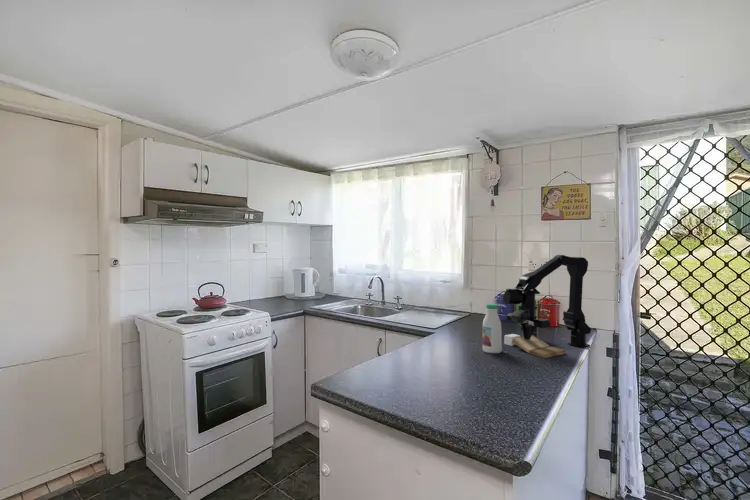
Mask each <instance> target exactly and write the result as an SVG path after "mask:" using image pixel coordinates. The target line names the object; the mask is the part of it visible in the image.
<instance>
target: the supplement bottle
mask: <svg viewBox="0 0 750 500" xmlns="http://www.w3.org/2000/svg"><path fill="white" fill-rule="evenodd" d="M530 321H531V320H530ZM521 333H522V334H521V337H524V335H523V332H522V331H521ZM532 335H533V336H535V337H536V338H538V339H539V336H538V335H539V327H537V328H536V329H535V331H534V332H533V334H532Z"/></svg>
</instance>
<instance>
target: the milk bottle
mask: <svg viewBox="0 0 750 500" xmlns="http://www.w3.org/2000/svg"><path fill="white" fill-rule="evenodd" d="M485 307H486V308H485V310H486V313H485V315H484V318H483V321H482V351H483V352H485V353H488V354H500V353H502V351H503V350H502V347H503V345H502V342H503V341H502V340H503V338H502V337H503V336H502V335H503V334H502V321H501V319H500V316H499V314H498V308H499V307H498V304H497V303H486V305H485Z"/></svg>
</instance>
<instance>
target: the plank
mask: <svg viewBox="0 0 750 500" xmlns="http://www.w3.org/2000/svg"><path fill="white" fill-rule="evenodd" d="M512 342H513V343H514V344H516V345H515V346H517V347H519V348H520V349H521V350H523V351H524V352H527V353H528V354H530V352H532V350H537V349H542V348H547V347H551V346H550V345H549V344H548V343H546V342H544V341H542V340H541V339H540V338H539V337H538V338H536V337H535V336H533V335H532V336H531V338H530V340H527V339H525V338H524V337H522V336H520V338H514V339H513V340H512Z"/></svg>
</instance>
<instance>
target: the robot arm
mask: <svg viewBox="0 0 750 500" xmlns="http://www.w3.org/2000/svg"><path fill="white" fill-rule="evenodd" d="M562 266H565V267H566V271H567V273H568V275H569V276H570V277H569V297H568V299H569V301H568V308H567V310H566V311H564V310H563V315H562V320H563V323H564V325H565V327H566V329H567V330H568V331H570V342H567V345H570V346H573V347H577V348H581V349H582V348H586V347H591V346H590V344H588V343H587V335H589V334H591V331H592V328H591V327H590V326H589V325H588V324H587V322H586V316H585V314H584V312H583V309H582V306H583V305H582V304H583V299H582V298H583V282H584V281H583V280H584V277H585V275H586V273H587V272H588V267H589V261H588V260H587V258H585V257H582V256H581V257H580V256H567V255H564V254H556V255H555V256H553V257H552V258H551V259H550V260H549V261H547V262H546V263H544V264H543V265H541V266H539V267H538V268H537V269H535V270H534V271H530V272H527V273H525V274H522V275H521V276H520V277H519V279H518V282H517V283H516V284H515V286H514V288H506V289H505V292H504V293H503V295H502V297H503V298H502V299H503V302H504V304H505V305H518V307H517V308H518V309H517V310H515V311H514V312H510V313H507V315H506V320H508V321H511V322H515V324H517V325H518V326H519V327H520V330H521V333H522V332H523V335H524V338H525V339H527V340H530V338H531V336H532V334H533V332H534V331H535V329H536V328H537V327H538V329H539V328H540V329H544V328H545V329H546V328H550V327H551V323H552V322H551V321H550V319H546V318H538V316H537V315H536V310H538V307H537V306H536V295H540V294H541V292H540V291H539V290H537V288H538V286H539V285H540V284H541V283H542V281H543V279H544V278H545V277H547V276H548V275H550V274H552V273H553V272H555V271H556V270H558V269H559V268H560V267H562ZM530 320H531V321H530Z"/></svg>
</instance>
